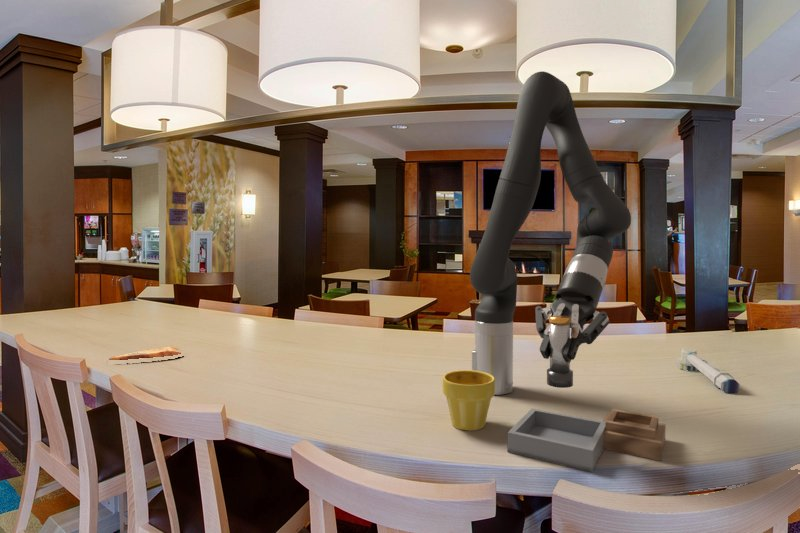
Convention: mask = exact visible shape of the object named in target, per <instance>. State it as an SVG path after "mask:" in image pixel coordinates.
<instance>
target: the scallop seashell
mask: <svg viewBox="0 0 800 533" xmlns="http://www.w3.org/2000/svg"><path fill="white" fill-rule="evenodd" d="M177 350H180V349H179V348H178V347H174V346H167V347H166V346H165V347H157V348H151V349H145V350H139V351H133V352H129V353H124V354H121V355H115V356H112V357H110V358H109V359H108V360H128V359H139V358H153V357H164V356H173V355H178V354H181V352H176V351H177ZM137 352H138V353H146V354H138V355H130V356H129V355H128V354H132V353H137Z"/></svg>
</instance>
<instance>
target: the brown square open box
mask: <svg viewBox="0 0 800 533" xmlns="http://www.w3.org/2000/svg"><path fill="white" fill-rule="evenodd" d="M659 420H660V419H659V416H658V415H652V414H646V413H640V412H633V411H628V410H623V409H617V408H612V409H611V411H610V413H606V415H605V417H604V419H603V420H602V421H604V422H606V426H605V431H604V449H603V450H608V451H613V452H617V453H622V454H627V455H631V456H634V457H635V456H636V457H641V458H645V459H650V460H655V461H658V462H659V461H660V462H662V459H663V456H664V454H663V453H664V449H665V444H666V426H667V425H666V424H667V423H663V422H659Z"/></svg>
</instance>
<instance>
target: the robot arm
mask: <svg viewBox="0 0 800 533" xmlns="http://www.w3.org/2000/svg"><path fill="white" fill-rule="evenodd" d="M575 109H576V108H575V104H574V100H573V97H572V93H571V91H570V88H569V87H568V85H567V84H566V83H565V82H564V81H562V80H561V79H559V78H558V77H556V75H553V74H552V73H550V72H547V71H537V72H535V73H533V74H531V75H530V76H529V77H528V78H527V79H526V81H525V82H524V83H523V85H522V87H521V90H520V92H519V95H518V98H517V105H516V110H515V116H514V122H513V128H512V133H511V137H510V140H509V143H508V146H507V147H508V148H507V151H506V155H505V158H504V162H503V166H502V169H501V172H500V175H499V178H498V182H497V185H496V188H495V193H494V196H493V200H492V204H491V208H490V211H489V214H488V219H487V221H486V222H487V223H486V225H485V226H486V227H485V229H484V233H483V236H482V239H481V241H480V244H479V246H478V248H477V251H476V254H475V256H474V259H473V261H472V265H471V266H470V270H469V271H470V272H469V277H470V278H469V281H470V284H471V286H472V288H473V289H474V290H475V291H476V292H477V293H480V294H481V299H480V302H479V304H478V305H477V307H476V308H475V310H474V350H472V352H471V370H474V371H481V372H485V373H488V374H490V375H492V376H493V377H494V378H495V394H494V396H497V395H499V396H501V395H507V394H510V393H513V391H514V390H513V388H514V379H513V378H514V313H515V311H516V306H517V294H518V293H517V292H518V291H517V290H518V274H517V268H516V265H515V263H514V262H513V261H512V260H511V259H510V258H509V254H510V250H511V248H512V244H513V243H514V240H515V238H516V236H517V234H518V233H519V231H520V229H521V228H522V226H523V225H524V223H525V221H526V220H527V218H528V217H529V214H530V213H531V211H532V208H533V206H534V203H535V201H536V197H537V194H538V191H539V188H540V184H541V177H542V160H541V157H542V155H541V150H542V146H541V145H542V140H543V135H544V131H545V128H546V129H547V130H548V131H549V134H550V135H551V137H552V139H553V141H554V143H555V146H556V150H557V151H556V152H557V158H558V163H559V166H560V170H561V173H562V176H563V178H564V180H565V182H566V185H567V188H568V189H569V192H570V194H571V196H572V198H573V200H574V201H575V202H576V203H579V204H585V203H589V202H592V203H593V204H594V205H595V206H596V208H595V209H593V210H592V211H590V212H589V213H587V214H586V215H585V216H583V217H582V219H581V220H580V222H579V223H578V226H577V228H576V246H575V249H574V252H573V254H572V255H571V256H572V257H571V260H570V261H569V263H568V265H567V266H566V268H565V271H564V274H563V276H562V278H561V281H560V284H559V286H558V289H557V291H556V293H555V299H554V300H553V302H552V303H551V304H550V306H547V307H543V308H542V306H540V305H537V306H535V312H534V313H535V329H536V331H537V333H538V335H539V336H540V338H541V339H542V340H541V343H540V346H539V352H540V354H541V356H542V358H543V359H545V360H550V323H548V325H547V321H549V316H569V317H570V338H569V339H568V341H567V344H566V347H565V350H564V352H563V358H564V360H565V362H570V363H571V362H572V360H575V359H576V356H577V353H578V350H579V347H580V346H581V345H582V344H586V345H591V344H593V343H594V341H596V340H597V338H598V337H599V336H600V334H601V333H602V332H603V331H605V329H606V328H607V327H608V326H609V324H610V322H611V321H610V319H609V317H608V314H607V312H606V311H603V310H601V311H598V310H597V307H598V305H599V303H600V302H599V301H600V298H601V296H602V293H603V290H604V288H605V286H606V280H607V275H608V271H609V267H610V264H611V261H612V258H613V254H614V247H613V245H612V243H611V242H610V240H612V239H614V238H615V237H618V236H620V235H621V234H624V233H625V232H627V230H628V229H629V228H630V226H631V222H632V215H631V211H630V209H629V208H628V206H627V205H626V204H625V202H624V201H623V200H622V199H621V198H620V197H619V196H618V195H617V194H616V193H615V192H614V190H613V189H612V188H611V187H610V186H609V185H608V183H607V182H606V181H605V179H604V177H603V174H602V172H601V170H600V168H599V166H598V163H597V162H596V160H595V158H594V156H593V153H592V152H591V150H590V146H589V145H588V143H587V141H586V138H585V137H584V134H583V131H582V129H581V126H580V122H579V119H578V117H577V116H578V115H577V113H576V110H575ZM551 314H552V315H551ZM590 321H591V322H590ZM589 322H590V323H589ZM588 323H589V324H588ZM586 324H588V325H587V326H586V327H585V325H586Z"/></svg>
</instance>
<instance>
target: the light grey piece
mask: <svg viewBox="0 0 800 533" xmlns="http://www.w3.org/2000/svg"><path fill="white" fill-rule="evenodd" d="M676 361H677V367H678V369H679V368H680V369H679V370H683V371H685V370H688V371H687V372H693V371H695V372H697V371H699V373H701V374H702V375H703V376H705V378H707V379H708V380H709V381H710V382H712V384H713V386H714V387H716V388H717V389H718V388H720V389H719V390H721V391H722V392H723V391H724V392H723V393H725V394H734V393H735V394H737V393H738V392H739V391H740V386H741V384H740V383H739V382H738V381H737V380H735V379H734V377H733V376H732V375H731V374H730V373H729V372H725V371H723V370H722V369H720V368H719V367H718V366H716V365H714V364H713V363H711V362H709V361H708V360H706V359H704V358H703V357H702V356H700V355H698V353H697V350H696V349H695V348H693V347H686V346H685V347H682V349H681V352H680V355H678V356H677V359H676ZM696 370H697V371H696Z"/></svg>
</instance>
